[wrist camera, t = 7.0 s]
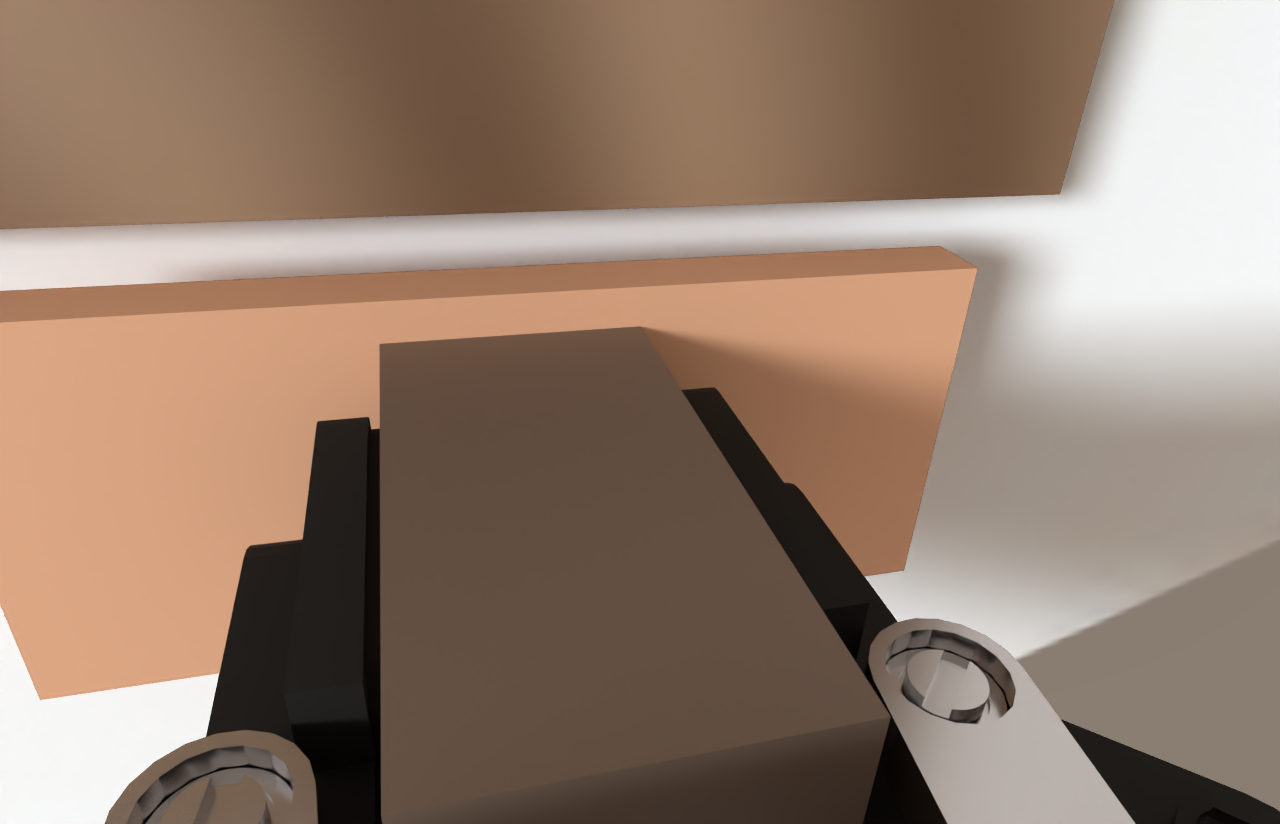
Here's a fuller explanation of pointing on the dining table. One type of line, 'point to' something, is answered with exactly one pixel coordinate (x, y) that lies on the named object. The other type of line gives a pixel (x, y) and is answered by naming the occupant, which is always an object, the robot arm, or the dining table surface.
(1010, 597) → the dining table surface
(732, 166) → the board
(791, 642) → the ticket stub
